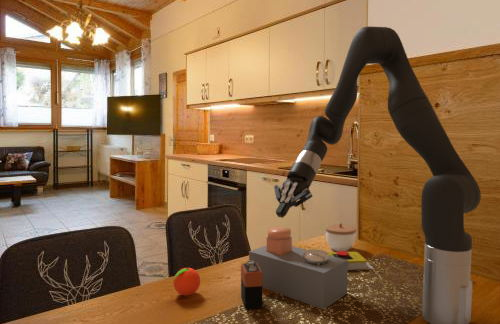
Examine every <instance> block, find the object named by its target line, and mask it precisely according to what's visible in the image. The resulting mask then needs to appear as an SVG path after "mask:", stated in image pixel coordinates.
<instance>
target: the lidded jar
mask: <svg viewBox="0 0 500 324" xmlns="http://www.w3.org/2000/svg"><path fill="white" fill-rule="evenodd" d="M356 232H357V228H356V227H354V226H352V225H348V224H343V223H342V222H339V223H338V224H337V223H336V224H335V223H334V224H329V225H326V226H325V239H326V242H327V244H328V246H329V247H331V249H332V251H334V252H335V251H336V252H338V251H345V252H349V249H351V248H352V247H353V246H354V244H355V240H356Z"/></svg>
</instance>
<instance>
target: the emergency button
mask: <svg viewBox="0 0 500 324" xmlns="http://www.w3.org/2000/svg"><path fill="white" fill-rule="evenodd" d="M326 252H327V253H328V255H329V256H333V257H337V258H341V259H345V260H348V271H354V270H355V271H358V270H360V271H361V270H373V269H374V267H373V266H372V265H371V264H370V263H369V262H367V259H366V258H365V257H364V256H362V254H360V253H359V252H357V251H336V252H335V251H333V252H331V251H329V252H328V251H326Z"/></svg>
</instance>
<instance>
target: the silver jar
mask: <svg viewBox="0 0 500 324" xmlns="http://www.w3.org/2000/svg"><path fill="white" fill-rule="evenodd" d="M305 250H306V251H304V253H303V261H302V262H305V263H307V264H311V265H317V266H321V265H324V264H327V263H328V262H329V260H328V253H327V252H328V251H325V250H322V249H316V248H315V249H314V248H313V249H305Z"/></svg>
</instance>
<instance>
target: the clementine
mask: <svg viewBox="0 0 500 324" xmlns="http://www.w3.org/2000/svg"><path fill="white" fill-rule="evenodd" d="M172 283H173V287H174V289H175V291H176V292H177V293H178V294H179V295H182V296H191V295H193V294H195V293H196V292H197V291H198V290H199V288H200V286H201V285H200V284H201V277H200V275H199V273H198V271H197V270H196V269H194V268H191V267H182V268H180V270H178V271H177V273H176V274H175V276H174V277H173V281H172Z"/></svg>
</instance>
